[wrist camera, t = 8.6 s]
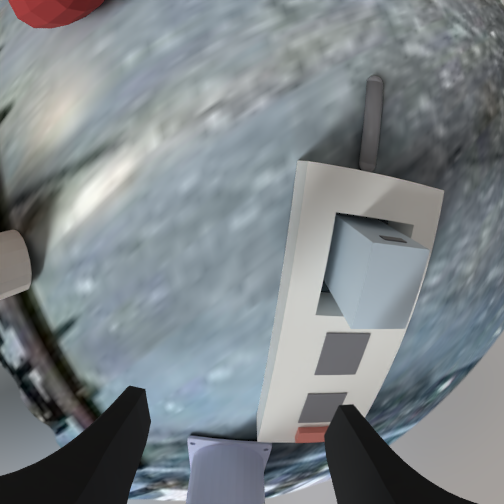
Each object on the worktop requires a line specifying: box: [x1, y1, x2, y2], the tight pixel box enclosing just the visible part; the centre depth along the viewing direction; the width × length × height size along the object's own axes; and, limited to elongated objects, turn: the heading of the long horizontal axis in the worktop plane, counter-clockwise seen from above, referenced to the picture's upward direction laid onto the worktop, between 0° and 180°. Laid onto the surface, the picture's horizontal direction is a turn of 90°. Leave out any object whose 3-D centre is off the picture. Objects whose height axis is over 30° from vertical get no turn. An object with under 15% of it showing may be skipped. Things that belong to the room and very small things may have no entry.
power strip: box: [257, 75, 444, 443], centre depth 16 cm, size 26×8×4 cm, turn 174°
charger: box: [323, 214, 430, 329], centre depth 14 cm, size 4×3×6 cm
